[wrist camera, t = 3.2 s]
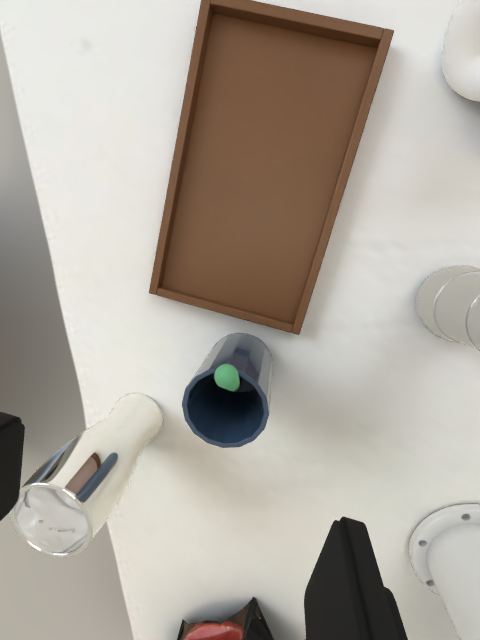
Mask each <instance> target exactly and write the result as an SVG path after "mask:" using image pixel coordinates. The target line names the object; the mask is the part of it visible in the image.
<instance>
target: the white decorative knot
mask: <svg viewBox="0 0 480 640" xmlns="http://www.w3.org/2000/svg"><path fill="white" fill-rule="evenodd" d="M442 70H443V74H444V78H445V79H446V81H447V83H448V85H449V86H450V87H451V88H452V89H453V90H454V91H455V92H457V93H458V94H459V95H461V96H462V97H465V98H467V99H469V100H473V101H480V0H459V2H458V4H457V6H456V8H455V10H454V12H453V14H452V16H451V19H450V22H449V25H448V28H447V30H446V33H445V38H444V43H443V49H442Z"/></svg>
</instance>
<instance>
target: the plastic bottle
mask: <svg viewBox="0 0 480 640" xmlns="http://www.w3.org/2000/svg"><path fill="white" fill-rule="evenodd" d="M416 310H417V314H418V316H419V318H420V320H421V321H422V322H423V324H424V325H425V326H426V327H427V328H428V329H429V330H430V331H431V332H432V333H433V334H435V335H437V336H438V337H441V338H444V339H447V340H450V341H453V342H458V343H463V344H466V345H468V346H471V347H474V348H476V349H478V350H479V351H480V269H479V268H476V267H473V266H465V265H461V266H453V267H448V268H444V269H441V270H439V271H437V272H434V273H433V274H432V275H430V276H429V277H428V278H427V279H426V280H425V281H424V282H423V283H422V285H421V286H420V288H419V290H418V293H417V297H416Z"/></svg>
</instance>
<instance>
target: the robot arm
mask: <svg viewBox="0 0 480 640" xmlns="http://www.w3.org/2000/svg"><path fill="white" fill-rule="evenodd" d="M24 429H25V427H24V425H23V424H22V423H21V419H20V418H19V417H16V416H13V415H10V414H6V413H3V412H0V521H1V520H2V519H3V518H4V517H5V516H6V515H7V514H8V513H9V512H10V511H11V510H12V509H13V507H14V506H15V504H16V503H17V501H18V498H19V492H20V478H21V467H22V455H23V442H24ZM409 557H410V562H411V564H412V567H413V569H414V572H415V574H416V575H417V577H418V578H419V580H420V581H421V582H422V583H423V584H424V586H426V587H427V588H428V589H430V590H431V591H432V592H434V593H435V594H437V595H439V596H441V598H442V600H443V603H444V605H445V607H446V610H447V612H448V614H449V616H450V619H451V621H452V623H453V625H454V628H455V630H456V632H457V634H458V637H459V639H460V640H480V504H461V505H454V506H450V507H447V508H444V509H440V510H439V511H437V512H435V513H433V514H431V515H429V516H428V517H427V518H425V519H424V520H423V521H422V522H421V523H420V524H419V525H418V526H417V527H416V529H415V531H414V532H413V534H412V536H411V539H410V542H409ZM304 609H305V625H306V640H408V639H407V636H406V632H405V629H404V626H403V623H402V620H401V617H400V613H399V610H398V607H397V604H396V601H395V598H394V596H393V594H392V592H391V591H390V590H389V589H388V588H386V587H384V586H383V582H382V579H381V575H380V572H379V569H378V565H377V562H376V558H375V555H374V552H373V548H372V545H371V541H370V538H369V535H368V531H367V528H366V526H365V524H364V523H363V522H360V521H356V520H353V519H350V518H347V517H342V518H341V519H340V521H337V520H335V521H334V522H333V524H332V526H331V529H330V531H329V534H328V536H327V539H326V541H325V543H324V546H323V548H322V551H321V553H320V556H319V558H318V561H317V563H316V565H315V568H314V570H313V573H312V575H311V578H310V580H309V583H308V585H307V588H306V591H305V598H304Z"/></svg>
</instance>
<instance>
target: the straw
mask: <svg viewBox="0 0 480 640" xmlns="http://www.w3.org/2000/svg"><path fill="white" fill-rule="evenodd" d="M214 379H215V382H216V383H217V385H218V386H220V387H221V388H224V389H227V390H230V391H233V392H237V391H238V390H239V389H240V381H239V375H238V371H237V369H236V368H235V367H234V366H232V365H230V364H223V365H221V366H219V367H218V368H217V369H216V371H215V374H214Z"/></svg>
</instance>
